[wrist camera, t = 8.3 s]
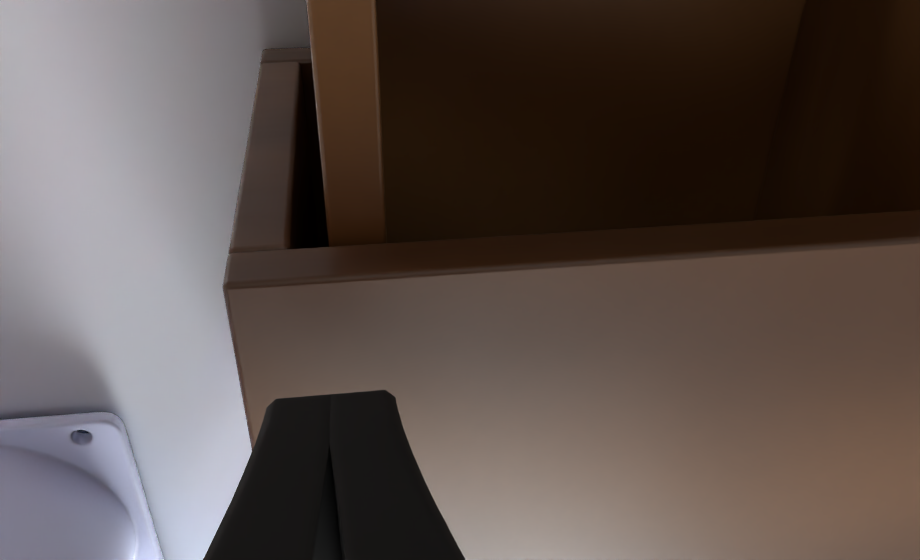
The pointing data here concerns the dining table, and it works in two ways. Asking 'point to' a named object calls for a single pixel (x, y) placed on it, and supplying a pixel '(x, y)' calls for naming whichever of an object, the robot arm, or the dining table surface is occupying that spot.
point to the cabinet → (599, 365)
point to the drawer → (610, 113)
